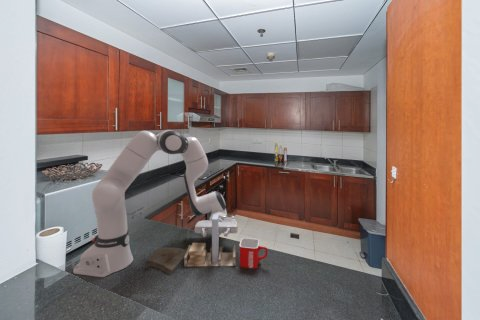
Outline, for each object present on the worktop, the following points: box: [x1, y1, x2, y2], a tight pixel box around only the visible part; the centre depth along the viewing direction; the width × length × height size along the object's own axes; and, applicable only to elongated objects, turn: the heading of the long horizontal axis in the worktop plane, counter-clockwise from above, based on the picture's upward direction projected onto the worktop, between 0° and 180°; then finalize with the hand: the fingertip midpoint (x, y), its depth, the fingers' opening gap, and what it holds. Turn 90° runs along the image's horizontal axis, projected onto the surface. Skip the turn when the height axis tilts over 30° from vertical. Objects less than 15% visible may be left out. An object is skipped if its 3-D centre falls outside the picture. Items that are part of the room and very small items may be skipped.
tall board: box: [211, 215, 220, 263], centre depth 93 cm, size 2×6×20 cm, turn 2°
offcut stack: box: [188, 242, 208, 265], centre depth 93 cm, size 7×8×6 cm
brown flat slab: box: [145, 246, 187, 276], centre depth 92 cm, size 17×15×4 cm
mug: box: [239, 237, 268, 269], centre depth 91 cm, size 12×8×11 cm
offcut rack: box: [183, 244, 236, 267], centre depth 94 cm, size 22×10×6 cm, turn 92°
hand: (215, 234), depth 92 cm, fingers open, 8 cm apart
